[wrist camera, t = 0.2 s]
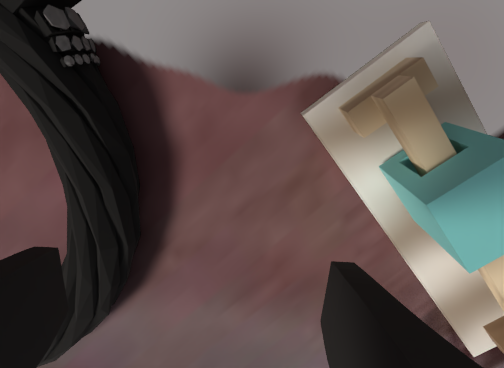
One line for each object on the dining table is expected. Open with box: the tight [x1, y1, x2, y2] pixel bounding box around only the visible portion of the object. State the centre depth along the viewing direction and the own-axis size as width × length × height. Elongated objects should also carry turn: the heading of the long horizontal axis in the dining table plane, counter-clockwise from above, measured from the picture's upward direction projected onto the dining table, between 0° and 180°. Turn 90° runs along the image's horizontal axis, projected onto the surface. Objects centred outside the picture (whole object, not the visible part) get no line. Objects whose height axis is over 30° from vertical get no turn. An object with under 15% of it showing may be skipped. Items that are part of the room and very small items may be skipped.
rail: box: [301, 21, 504, 357], centre depth 16 cm, size 21×7×6 cm, turn 38°
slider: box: [379, 122, 504, 273], centre depth 15 cm, size 4×4×5 cm
